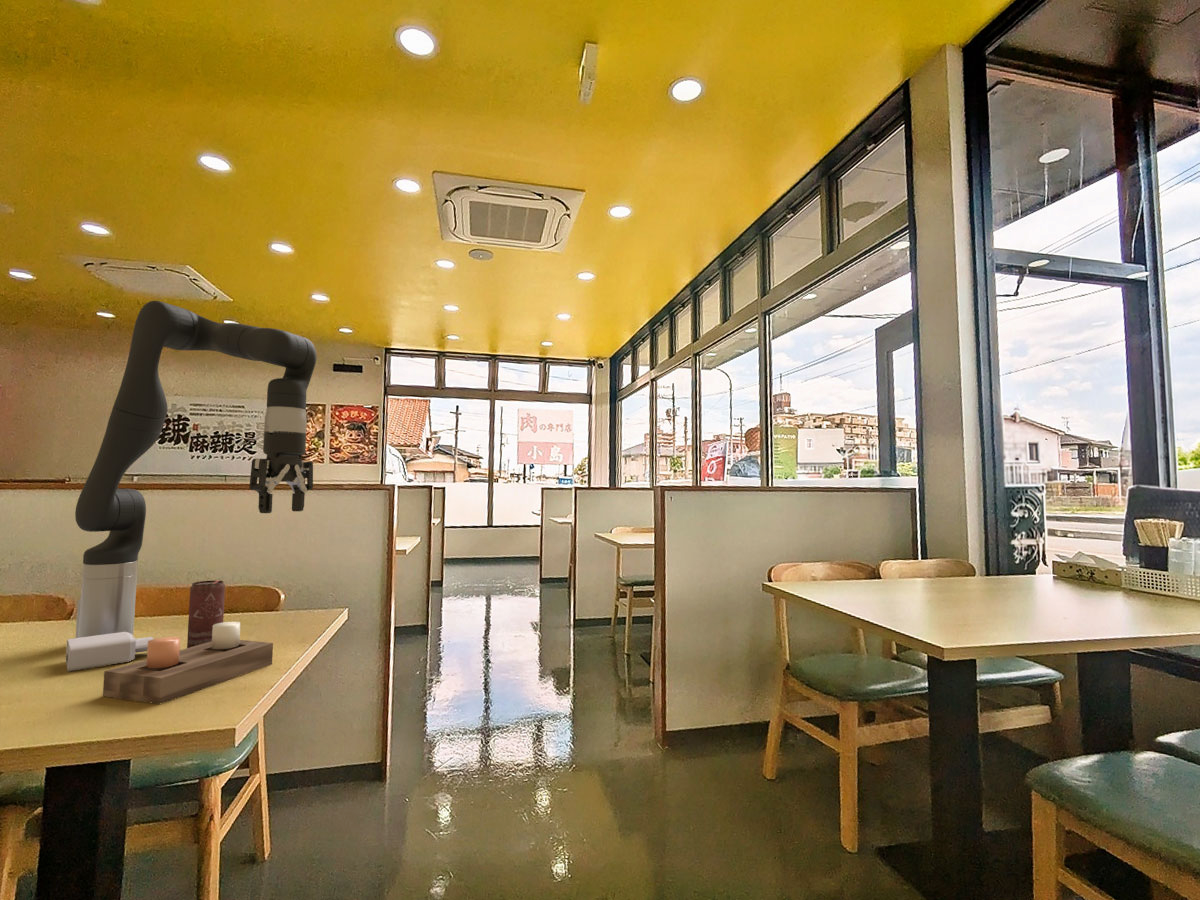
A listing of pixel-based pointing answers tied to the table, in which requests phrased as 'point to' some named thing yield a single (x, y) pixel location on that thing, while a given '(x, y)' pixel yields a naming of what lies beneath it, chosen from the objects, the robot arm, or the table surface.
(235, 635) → the offwhite button
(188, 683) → the button panel
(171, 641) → the terracotta button
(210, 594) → the can
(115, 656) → the charger
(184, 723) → the table surface
